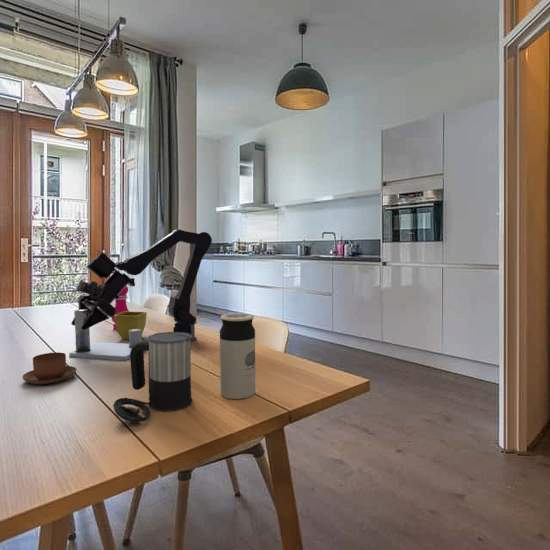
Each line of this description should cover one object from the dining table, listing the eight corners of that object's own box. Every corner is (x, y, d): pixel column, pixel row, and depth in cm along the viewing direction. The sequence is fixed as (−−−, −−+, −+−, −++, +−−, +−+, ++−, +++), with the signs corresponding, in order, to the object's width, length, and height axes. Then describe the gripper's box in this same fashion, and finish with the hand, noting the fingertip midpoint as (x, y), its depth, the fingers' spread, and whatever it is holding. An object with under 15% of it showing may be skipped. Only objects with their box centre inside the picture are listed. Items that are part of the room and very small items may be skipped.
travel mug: (213, 393, 94) (212, 315, 92) (240, 385, 99) (239, 311, 98) (235, 403, 88) (234, 320, 87) (262, 393, 94) (262, 315, 92)
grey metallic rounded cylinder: (93, 348, 129) (91, 309, 128) (84, 352, 125) (82, 311, 124) (81, 348, 129) (80, 309, 129) (73, 351, 126) (71, 311, 125)
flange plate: (149, 348, 134) (149, 329, 134) (125, 360, 121) (124, 339, 120) (98, 345, 138) (97, 327, 138) (69, 356, 125) (68, 336, 124)
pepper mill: (124, 330, 162) (123, 280, 161) (108, 329, 164) (106, 280, 162) (134, 327, 169) (133, 278, 168) (118, 326, 171) (117, 278, 169)
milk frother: (196, 395, 93) (195, 331, 92) (183, 426, 77) (181, 349, 76) (133, 396, 92) (131, 331, 91) (106, 427, 77) (103, 350, 76)
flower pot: (148, 335, 154) (147, 311, 153) (138, 340, 145) (137, 315, 145) (125, 334, 155) (124, 311, 154) (114, 340, 146) (113, 315, 146)
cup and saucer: (28, 375, 108) (27, 352, 107) (78, 370, 112) (77, 348, 111) (17, 391, 96) (16, 365, 96) (74, 384, 101) (73, 360, 100)
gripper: (83, 270, 135) (47, 307, 128) (104, 273, 121) (65, 314, 114) (108, 291, 141) (75, 328, 134) (131, 297, 127) (95, 337, 120)
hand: (77, 326), depth 126 cm, fingers open, 9 cm apart
